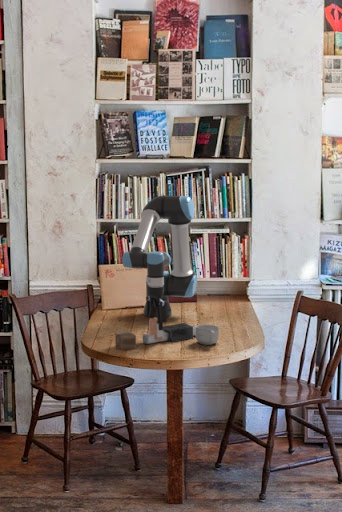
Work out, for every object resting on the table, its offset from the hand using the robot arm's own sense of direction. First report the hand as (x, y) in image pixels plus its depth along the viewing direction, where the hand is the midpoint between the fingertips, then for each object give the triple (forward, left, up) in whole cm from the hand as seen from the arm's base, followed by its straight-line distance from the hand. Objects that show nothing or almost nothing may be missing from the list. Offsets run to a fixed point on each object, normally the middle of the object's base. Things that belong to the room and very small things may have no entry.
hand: (155, 334), depth 341 cm
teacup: (+16, +18, -4) cm, 24 cm away
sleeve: (0, +12, -3) cm, 12 cm away
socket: (0, -16, -3) cm, 16 cm away
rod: (0, +8, -3) cm, 9 cm away
